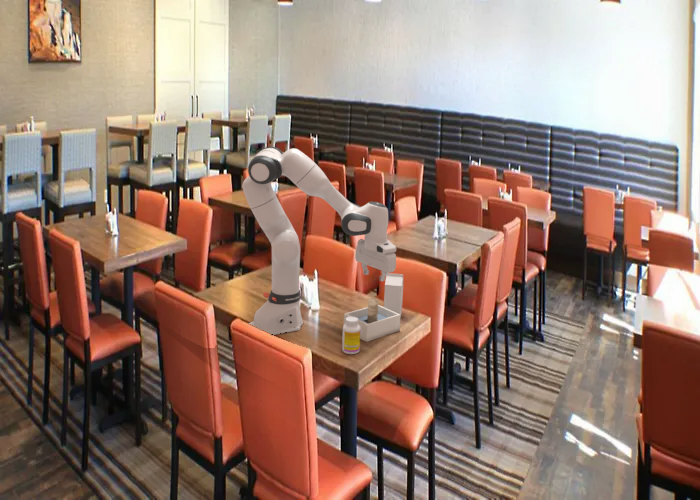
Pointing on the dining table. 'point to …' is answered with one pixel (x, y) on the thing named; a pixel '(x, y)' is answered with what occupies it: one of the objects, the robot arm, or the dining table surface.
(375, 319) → the peg
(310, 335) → the dining table surface
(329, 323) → the dining table surface
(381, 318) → the socket box
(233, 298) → the dining table surface
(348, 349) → the supplement bottle
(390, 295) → the milk carton
